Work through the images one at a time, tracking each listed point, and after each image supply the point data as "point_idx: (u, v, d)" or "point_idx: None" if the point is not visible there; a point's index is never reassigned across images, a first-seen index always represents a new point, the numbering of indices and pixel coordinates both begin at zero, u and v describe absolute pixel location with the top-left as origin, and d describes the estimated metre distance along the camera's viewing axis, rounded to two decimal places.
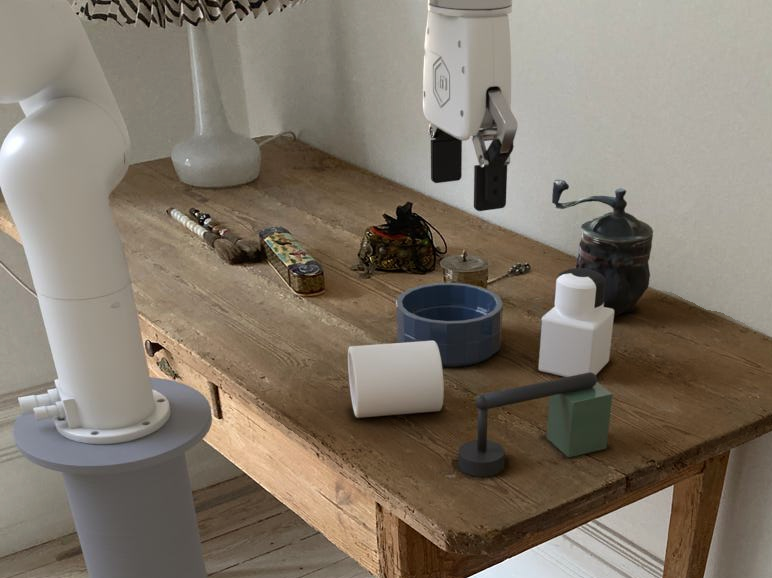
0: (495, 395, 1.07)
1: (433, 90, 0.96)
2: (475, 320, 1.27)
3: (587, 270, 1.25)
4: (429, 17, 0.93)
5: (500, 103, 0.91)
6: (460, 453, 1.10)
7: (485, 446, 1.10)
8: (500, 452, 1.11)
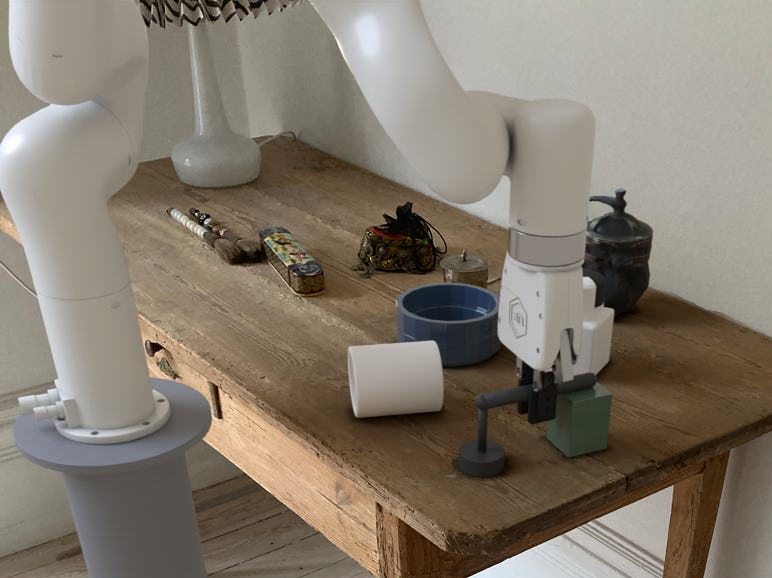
0: (495, 395, 1.07)
1: (509, 321, 1.05)
2: (475, 320, 1.27)
3: (587, 270, 1.25)
4: (507, 260, 1.02)
5: (565, 356, 1.02)
6: (460, 453, 1.10)
7: (485, 446, 1.10)
8: (500, 452, 1.11)
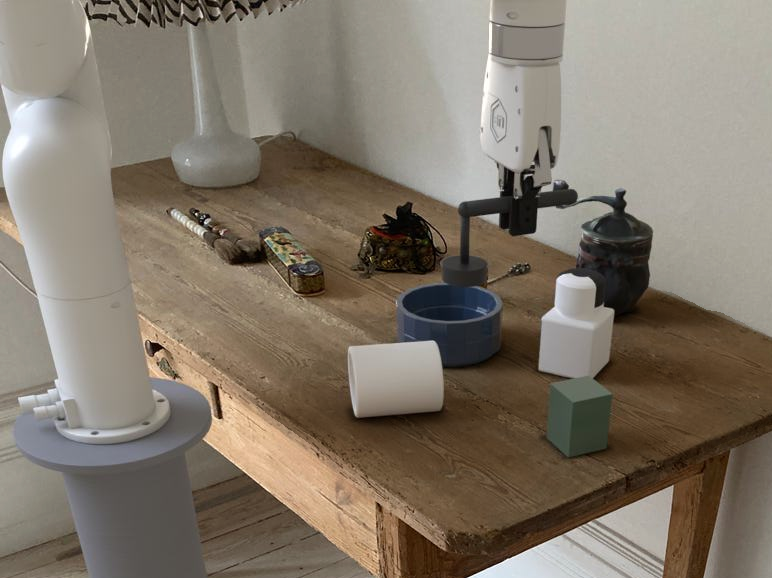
0: (477, 202, 1.10)
1: (490, 127, 1.08)
2: (475, 320, 1.27)
3: (587, 270, 1.25)
4: (489, 63, 1.06)
5: (544, 156, 1.05)
6: (443, 264, 1.14)
7: (468, 257, 1.13)
8: (483, 264, 1.14)
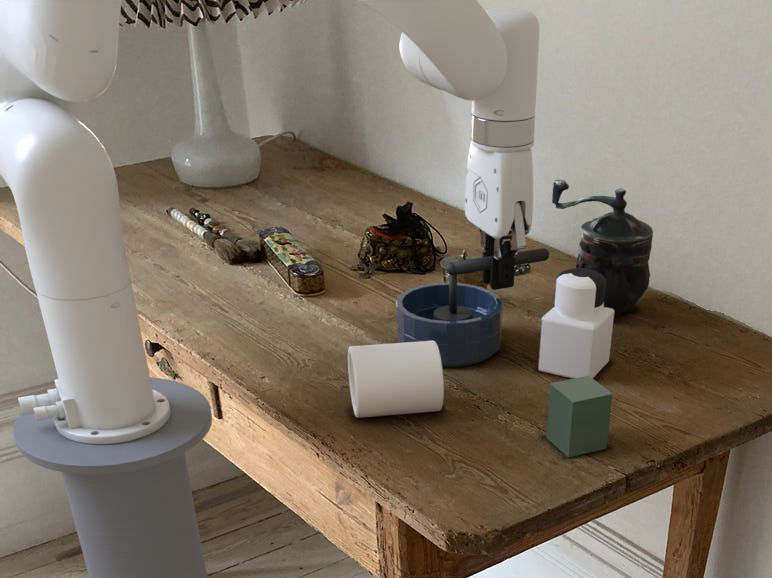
0: (463, 262, 1.29)
1: (473, 199, 1.27)
2: (475, 320, 1.27)
3: (587, 270, 1.25)
4: (471, 147, 1.25)
5: (519, 225, 1.24)
6: (435, 314, 1.32)
7: (455, 308, 1.32)
8: (468, 314, 1.33)
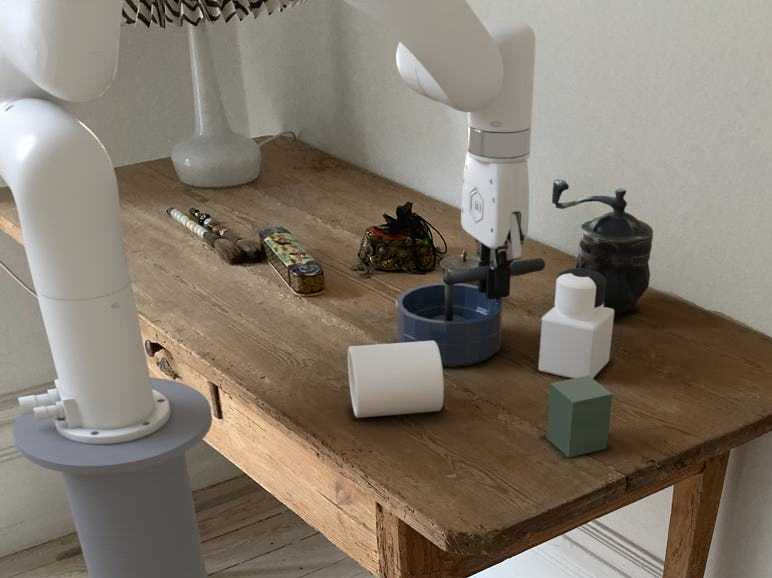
0: (459, 272, 1.30)
1: (469, 209, 1.28)
2: (475, 320, 1.27)
3: (587, 270, 1.25)
4: (467, 157, 1.25)
5: (515, 236, 1.25)
6: None
7: (451, 317, 1.33)
8: None
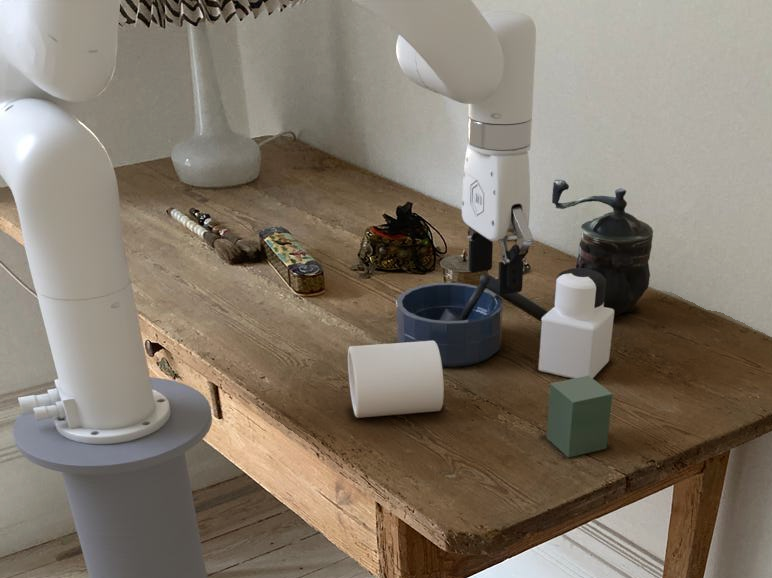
0: (496, 280, 1.32)
1: (470, 202, 1.27)
2: (475, 320, 1.27)
3: (587, 270, 1.25)
4: (468, 150, 1.25)
5: (521, 220, 1.23)
6: (447, 310, 1.33)
7: (467, 316, 1.34)
8: None
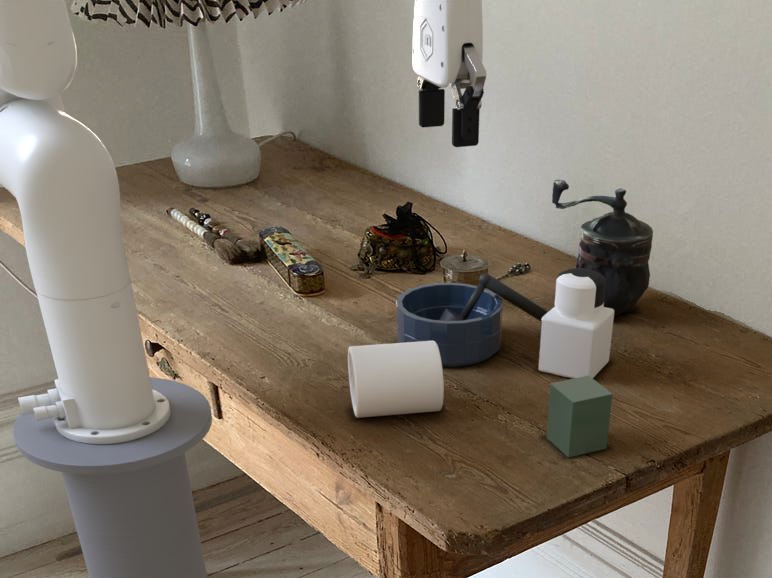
0: (496, 280, 1.32)
1: (420, 47, 1.18)
2: (475, 320, 1.27)
3: (587, 270, 1.25)
4: None
5: (473, 56, 1.13)
6: (447, 310, 1.33)
7: (467, 316, 1.34)
8: None
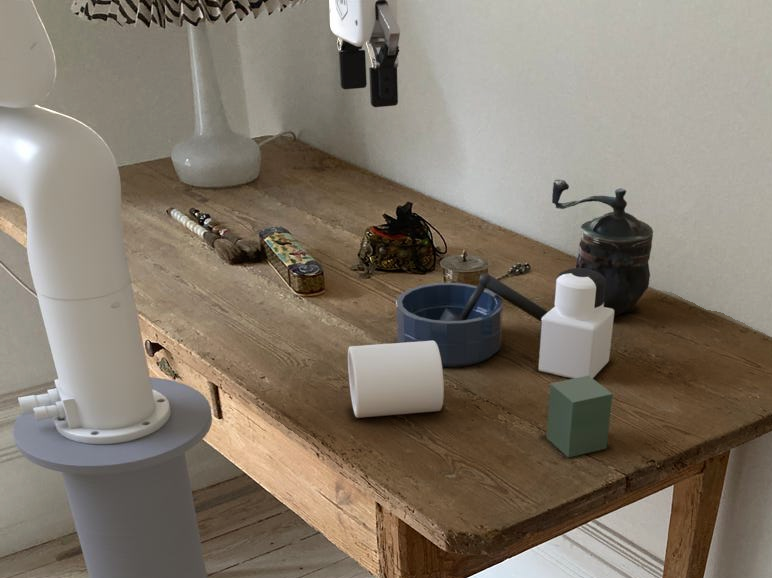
0: (496, 280, 1.33)
1: (336, 6, 1.17)
2: (475, 320, 1.27)
3: (587, 270, 1.25)
4: None
5: (386, 13, 1.12)
6: (447, 310, 1.33)
7: (467, 316, 1.34)
8: None
